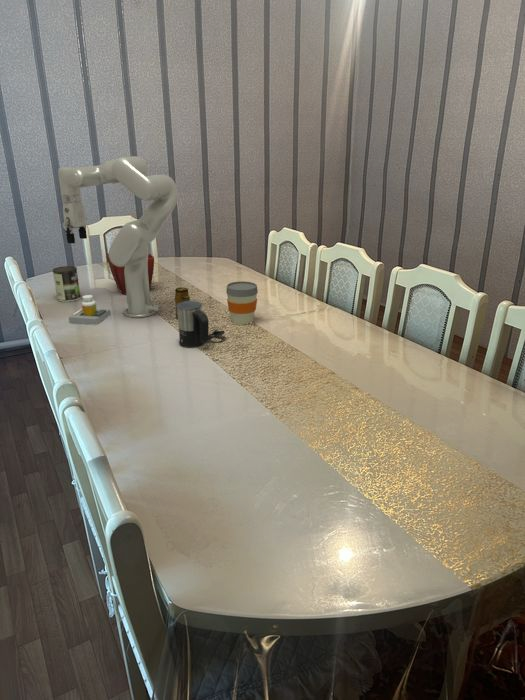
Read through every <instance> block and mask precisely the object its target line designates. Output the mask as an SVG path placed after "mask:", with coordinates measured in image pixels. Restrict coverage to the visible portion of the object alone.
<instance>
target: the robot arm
mask: <svg viewBox="0 0 525 700" xmlns="http://www.w3.org/2000/svg"><path fill="white" fill-rule="evenodd" d="M148 169H149V168H148V164H147V162H146V161H145V159H143V157H140V156H133V155H131V156H123V157H122V156H121V157H118V158H116V159H111V160H107V161H105V163H104V164H99V165H91V166H82V167H73V166H63V167H59V168H58V169H57V174H58V180H59V181H58V183H59V189H60V194H61V195H60V196H61V202H62V214H63V222H62V223H61V226H62V227H63V231H64V232H65V233H64V234H66V235H65V236H66V241H67V244H76V239H75V233H74V230H75V229H78V236H79V239H85V240H87V238H88V235H87V217H86V211H85V207H84V204H83V201H82V200H83V199H82V193H81V189H82V188H89V187H94V186H95V187H96V186H101V185H107V184H113V185H115V184H121V185H122V186H123V187H124V188H126V189H127V190H128V191H130V193H132V194H133V195H134V196H136V197H137V198H138V199H140V200H142V201H147V202H150V201H151V202H150V204H149V205H148V206H147V208H145V210H144V213H142V215H141V217H140V218H138V219H136V220H132V221H129V222H126V223H125V224H124V225H122V227H121V228H120V230H119V231H118V233H117V234H116V236H115V238H114V239H113V241H112V243H111V245H110V246H109V249H108V254H109V259H110V261H111V262H112V264H114V265H115V266H118V267H124V266H125V269H124V276H125V285H126V294H125V295H126V302H127V308H126V309H125V310H124V315H125V316H127V317H128V318H135V319H137V318H145V317H149V316H152V315H154V314H155V313H156V312H160V309H161V308H160V305H158V304H154V301H152V300H151V295H150V294H151V293H150V290H149V280H148V253H149V246H148V244H150V243H152V242H153V241H154V240H155V239H156V238H157V236H158V235H159V233H160V231H161V230H162V228H163V227H164V225H165V224H166V222H167V220H168V219H169V217H170V216H171V214H172V212H174V209H175V207H176V206H177V204H178V203H177V202H178V199H179V197H178V195H179V194H178V193H179V192H178V187H177V184H176V182H175V180H174V179H173V178H172V177H171V176H170V175H166V174H154V175H147V173H148Z"/></svg>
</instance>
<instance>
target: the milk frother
mask: <svg viewBox="0 0 525 700" xmlns="http://www.w3.org/2000/svg"><path fill="white" fill-rule="evenodd" d="M202 306H203V303H202V302H200V301H195V300H190V301H186V302H181V303H178V304H177V305H176V307H177V313H178V319H177V322H178V333H179V341H178V344H179V346H181V347H184V348H195V347H199V346H202V345H204V343H207V342H209V340H213V339H215V338H219V337H221V336H222V335H225V333H226V331H225V330H217V329H215V330H213V331H212V333H209V330H210V329H209V325H210V324H209V318H208V315H207V313H205V311H202V310H203V309H202Z"/></svg>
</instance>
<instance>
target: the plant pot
mask: <svg viewBox="0 0 525 700" xmlns="http://www.w3.org/2000/svg"><path fill="white" fill-rule="evenodd" d="M106 259H107V263H108V267H109V269H110V272H111V274H112V277H113V279H114V282H115V284H116V287H117V288H118V290H119V291H120V293H121V294H122V295H126V285H125V276H124V269H125V266H124V267H118V266H115V265H114V264H112V262H111V261H110V259H109V253H106ZM154 266H155V257H154V256H153V255H152V254H151V253H150V252H148V280H149V291H150V289H151V286H152V280H153V275H154V269H155V268H154Z"/></svg>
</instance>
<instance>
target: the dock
mask: <svg viewBox="0 0 525 700" xmlns="http://www.w3.org/2000/svg"><path fill="white" fill-rule="evenodd" d="M96 310H97V313H95V314H94V316H83V309H82V308H80V309H79V310H78V311H77V310H76V312H74V313H73V314H71V315H70V316H68V323H69V322H72V323H71V324H76V323H85V324H84V325H89V324H98V323H99V324H101V323H102V322H103V321H105V320H106V319H108V318H109V317H111V309H110V308H109V309H108V308H96ZM108 316H109V317H108ZM105 318H106V319H105ZM104 319H105V320H104ZM102 320H103V321H102ZM101 321H102V322H101ZM100 322H101V323H100ZM99 324H98V325H99Z"/></svg>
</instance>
